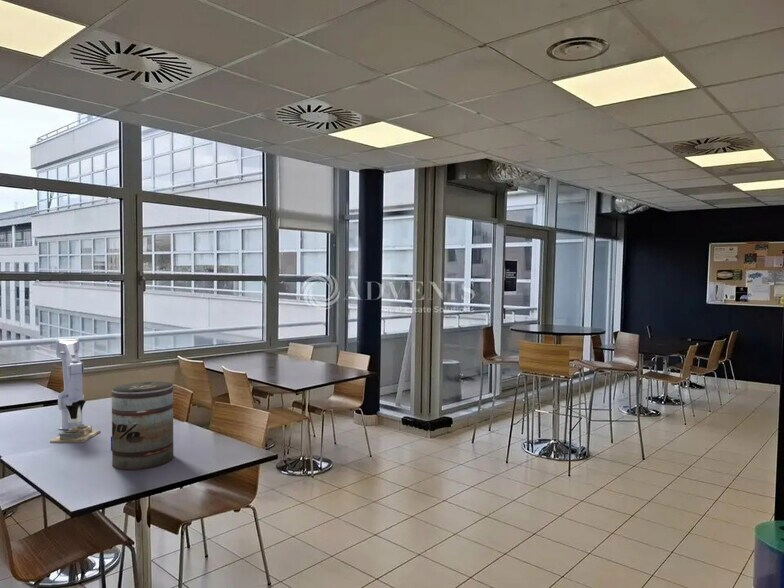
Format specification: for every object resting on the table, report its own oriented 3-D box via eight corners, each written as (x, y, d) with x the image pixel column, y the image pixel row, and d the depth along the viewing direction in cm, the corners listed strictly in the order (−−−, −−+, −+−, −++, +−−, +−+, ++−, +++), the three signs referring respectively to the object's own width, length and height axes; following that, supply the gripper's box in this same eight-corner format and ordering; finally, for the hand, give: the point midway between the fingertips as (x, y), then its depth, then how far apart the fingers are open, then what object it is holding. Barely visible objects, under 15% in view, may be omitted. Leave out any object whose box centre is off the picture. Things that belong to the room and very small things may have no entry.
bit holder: (70, 432, 257) (70, 425, 256) (100, 432, 257) (100, 425, 257) (50, 442, 241) (49, 434, 241) (81, 442, 241) (81, 434, 241)
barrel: (108, 458, 220) (107, 385, 219) (166, 448, 233) (165, 379, 232) (116, 474, 201) (116, 394, 201) (179, 462, 214) (179, 388, 214)
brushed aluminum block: (72, 420, 253) (71, 406, 253) (81, 420, 254) (80, 405, 254) (68, 422, 250) (67, 408, 249) (77, 422, 250) (76, 407, 250)
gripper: (73, 385, 258) (73, 414, 258) (59, 392, 244) (59, 421, 244) (88, 385, 259) (89, 413, 259) (75, 391, 245) (76, 421, 245)
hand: (75, 417), depth 252 cm, fingers closed on brushed aluminum block, 4 cm apart
